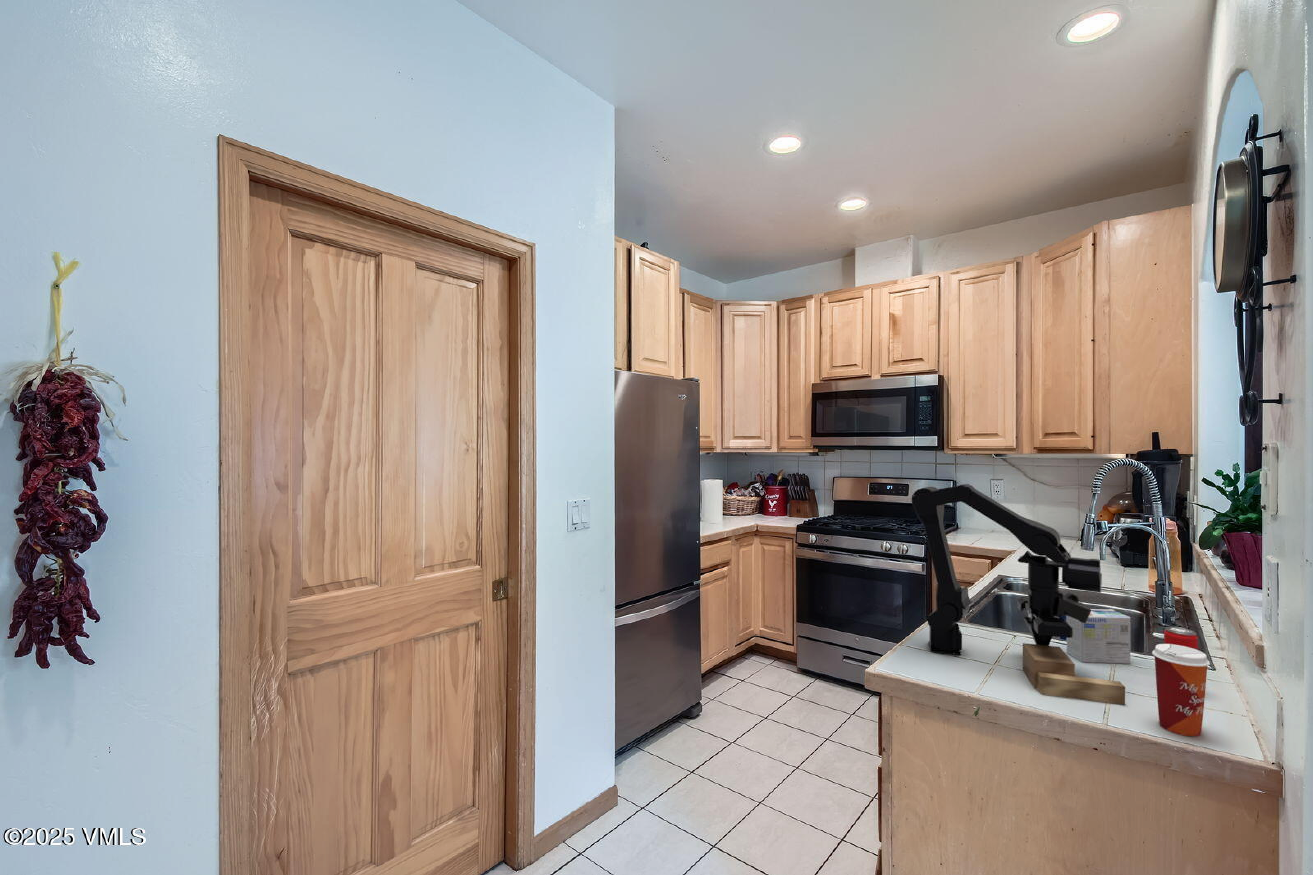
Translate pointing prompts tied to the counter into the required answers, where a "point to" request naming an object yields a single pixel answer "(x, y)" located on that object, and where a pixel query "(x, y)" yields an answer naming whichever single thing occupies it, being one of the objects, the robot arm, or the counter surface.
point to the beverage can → (1181, 637)
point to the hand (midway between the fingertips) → (1042, 654)
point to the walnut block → (1045, 662)
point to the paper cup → (1180, 688)
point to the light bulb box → (1100, 637)
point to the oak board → (1081, 688)
